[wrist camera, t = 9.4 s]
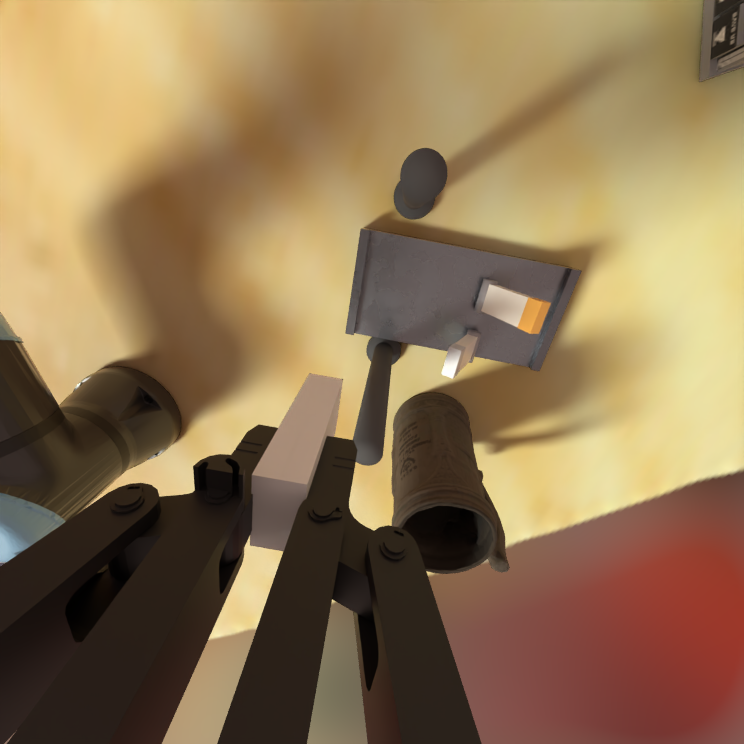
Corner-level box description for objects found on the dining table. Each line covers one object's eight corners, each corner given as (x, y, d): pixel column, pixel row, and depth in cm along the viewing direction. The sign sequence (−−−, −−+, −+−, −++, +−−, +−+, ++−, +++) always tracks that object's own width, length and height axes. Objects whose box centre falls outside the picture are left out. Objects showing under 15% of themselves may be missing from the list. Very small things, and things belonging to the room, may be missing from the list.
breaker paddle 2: (471, 309, 39) (528, 336, 33) (480, 278, 38) (542, 299, 32) (481, 310, 40) (538, 336, 34) (490, 279, 39) (553, 300, 32)
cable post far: (364, 360, 46) (333, 469, 26) (370, 329, 44) (341, 421, 24) (397, 366, 46) (390, 480, 26) (403, 335, 44) (402, 433, 24)
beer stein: (375, 431, 51) (370, 556, 33) (415, 375, 46) (435, 485, 28) (459, 473, 54) (497, 609, 36) (504, 424, 49) (573, 552, 32)
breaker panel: (348, 326, 44) (345, 333, 42) (363, 227, 39) (360, 228, 37) (531, 362, 44) (539, 371, 42) (570, 267, 39) (581, 270, 37)
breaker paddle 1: (461, 356, 43) (439, 375, 36) (469, 328, 41) (448, 343, 34) (474, 360, 42) (453, 381, 35) (483, 332, 41) (463, 349, 34)
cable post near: (390, 215, 39) (374, 214, 19) (398, 170, 37) (390, 116, 17) (429, 222, 39) (454, 228, 19) (439, 178, 37) (478, 133, 17)
